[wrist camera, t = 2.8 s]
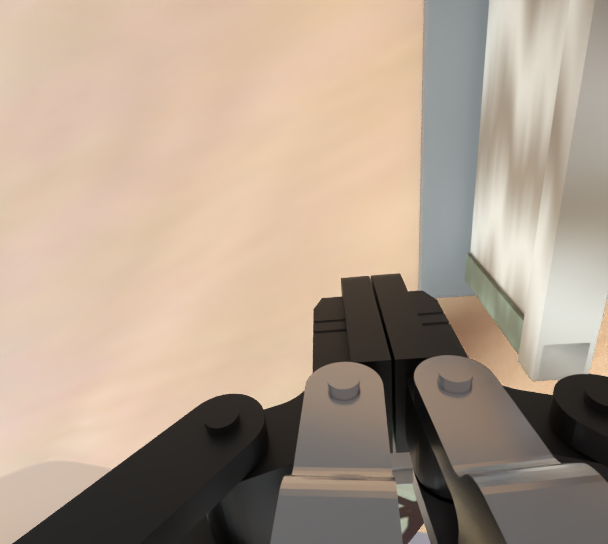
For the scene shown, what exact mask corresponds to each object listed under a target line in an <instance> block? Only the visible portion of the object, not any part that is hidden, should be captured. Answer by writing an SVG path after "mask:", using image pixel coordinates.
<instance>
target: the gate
mask: <svg viewBox="0 0 608 544" xmlns="http://www.w3.org/2000/svg"><path fill="white" fill-rule="evenodd" d="M465 281H466V282H467V284H468V285H469V286H470V288H471V289H472V291H473V292H474V293H475V295H476V296H477V298H478V299H479V300H480V302H481V303H482V305H483V306H484V307H485V309H486V310H487V312H488V313H489V314H490V316H491V317H492V319H493V320H494V321H495V323H496V324H497V325H498V327H499V328H500V330H501V331H502V332H503V334H504V335H505V337H506V338H507V339H508V341H509V342H510V344H511V345H512V346H513V348H514V349H515V351H516V352H517V353H518V355H519V356H518V362H519V364H520V365H521V367H522V368H523V369H524V371H525V372H526V374H527V375H528V377H529V378H530V379H531V381H544V380H561V379H562V378H564V377H567V376H570V375H575V374H589V371H590V367H591V363H592V359H593V355H594V350H595V346H596V342H597V338H598V333H599V329H600V325H601V321H602V317H603V312H604V308H605V304H606V300H607V295H608V0H489V12H488V25H487V38H486V51H485V65H484V78H483V91H482V104H481V118H480V131H479V144H478V157H477V171H476V184H475V197H474V210H473V224H472V237H471V250H470V253H467V254H466V268H465Z"/></svg>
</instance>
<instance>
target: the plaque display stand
mask: <svg viewBox="0 0 608 544" xmlns="http://www.w3.org/2000/svg"><path fill="white" fill-rule="evenodd" d="M488 12H489V0H424V29H423V81H422V132H421V184H420V235H419V287H418V291H424V292H426V293H427V294H429V295H430V296H432V297H433V298H442V297H457V296H472V295H475V293H474V292H473V291H472V289H471V288H470V286H469V285H468V284H467V282H466V281H465V268H466V254H467V253H470V250H471V237H472V224H473V210H474V197H475V184H476V171H477V157H478V144H479V131H480V118H481V104H482V91H483V78H484V65H485V51H486V38H487V25H488Z"/></svg>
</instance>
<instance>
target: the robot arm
mask: <svg viewBox="0 0 608 544" xmlns="http://www.w3.org/2000/svg"><path fill="white" fill-rule="evenodd" d="M341 289H342V297H332V298H322V299H321V300H320V302H319V303H318V304H317V306H316V307H315V308H314V324H313V333H314V334H313V374H312V375H311V376H310V377H309V378H308V380H307V382H306V386H305V391H304V392H302V393H301V394H300V395H299V396H297V397H296V398H294V399H292V400H290V401H288V402H286V403H283V404H281V405H277V406H274V407H271V408H268V409H265V410H263V408H262V406H261V404H260V403H259V402H258V401H257V400H255V399H254V398H252V397H249V396H246V395H243V394H226V395H221V396H217V397H214V398H212V399H209V400H207V401H205V402H203V403H202V404H200V405H199V406H197V407H196V408H195V409H193V410H192V411H191V412H189V413H188V414H187V415H185V416H184V417H183V418H181V419H180V420H179V421H177V422H176V423H174V424H173V425H172V426H170V427H169V428H168V429H166V430H165V431H164V432H162V433H161V434H160V435H158V436H157V437H156V438H154V439H153V440H152V441H150V442H149V443H148V444H146V445H145V446H143V447H142V448H141V449H139V450H138V451H137V452H135V453H134V454H133V455H131V456H130V457H129V458H127V459H126V460H125V461H123V462H122V463H121V464H119V465H118V466H117V467H115V468H114V469H112V470H111V471H110V472H108V473H107V474H106V475H104V476H103V477H102V478H100V479H99V480H98V481H96V482H95V483H94V484H92V485H91V486H90V487H88V488H87V489H86V490H84V491H83V492H82V493H80V494H79V495H78V496H76V497H75V498H73V499H72V500H71V501H69V502H68V503H67V504H65V505H64V506H63V507H61V508H60V509H59V510H57V511H56V512H55V513H53V514H52V515H50V516H49V517H48V518H47V519H45V520H44V521H43V522H41V523H40V524H38V525H37V526H36V527H34V528H33V529H32V530H30V531H29V532H28V533H27V534H25V535H24V536H22V537H21V538H20V539H18V540H17V541H16V542H14V543H13V544H403V540H402V531H401V522H400V513H399V504H398V495H397V487H396V481H395V477H393V475H392V466H391V456H390V453H393V440H394V445H395V449H396V453H405V452H410V456H411V460H412V464H413V489H414V493H415V496H416V499H417V502H418V505H419V508H420V511H421V514H422V518H423V521H424V524H425V527H426V530H427V533H428V536H429V539H430V542H431V544H608V377H605V376H600V375H594V374H575V375H570V376H567V377H564V378H562V379H561V380H559V381H558V382H557V383H556V385H555V387H554V391H553V395H548V394H541V393H535V392H529V391H522V390H517V389H512V388H509V387H505V386H502V385H501V383H500V382H499V381H498V379H497V378H496V377H495V375H494V374H493V373H492V372H491V371H490V370H489V369H488V368H487V367H486V366H484V365H482V364H481V363H479V362H477V361H475V360H472V359H469V358H468V356H467V355H466V353H465V351H464V349H463V347H462V345H461V344H460V342H459V340H458V338H457V336H456V334H455V333H454V331H453V329H452V327H451V325H450V324H449V322H448V320H447V318H446V316H445V314H443V311H442V309H441V307H440V305H439V303H438V301H437V300H436V299H435V298H433V297H432V296H430V295H429V294H427V293H426V292H424V291H410V292H408V291H407V288H406V286H405V284H404V281H403V279H402V277H401V275H400V273H399V274H386V275H373V276H371V279H370V277H369V276H362V277H349V278H341Z"/></svg>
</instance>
